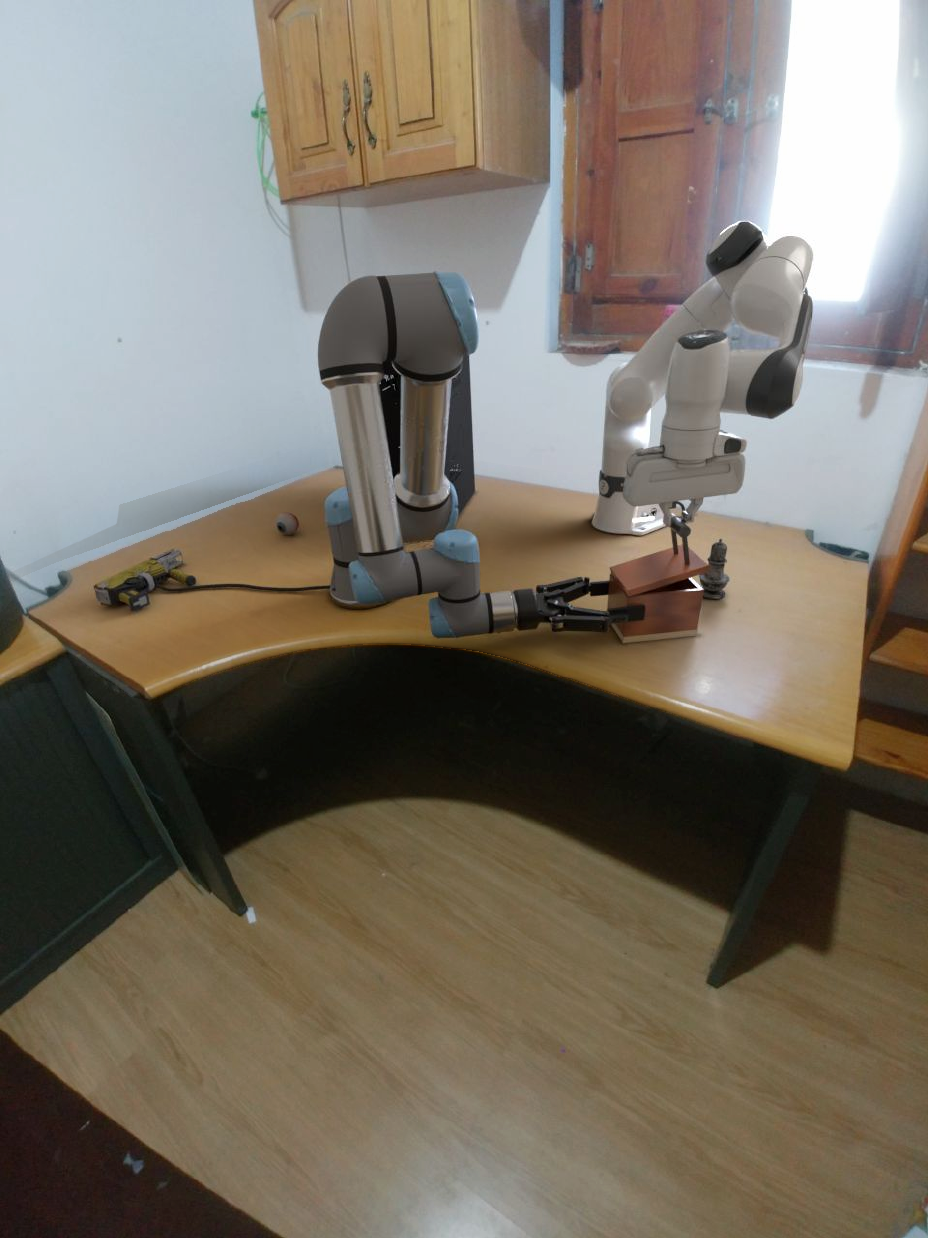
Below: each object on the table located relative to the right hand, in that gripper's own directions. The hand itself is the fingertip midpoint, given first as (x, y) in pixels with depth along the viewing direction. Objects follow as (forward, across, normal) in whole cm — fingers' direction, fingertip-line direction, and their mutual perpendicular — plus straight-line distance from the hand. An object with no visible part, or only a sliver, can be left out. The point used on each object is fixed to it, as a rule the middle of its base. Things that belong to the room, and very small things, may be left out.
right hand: (678, 523), depth 104 cm
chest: (+20, -3, 0) cm, 21 cm away
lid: (+9, -3, 0) cm, 10 cm away
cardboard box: (+20, -34, +77) cm, 87 cm away
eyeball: (+20, -73, +72) cm, 105 cm away
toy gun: (+20, -101, +47) cm, 113 cm away
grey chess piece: (+21, +15, +8) cm, 27 cm away
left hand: (+14, -7, +1) cm, 16 cm away
